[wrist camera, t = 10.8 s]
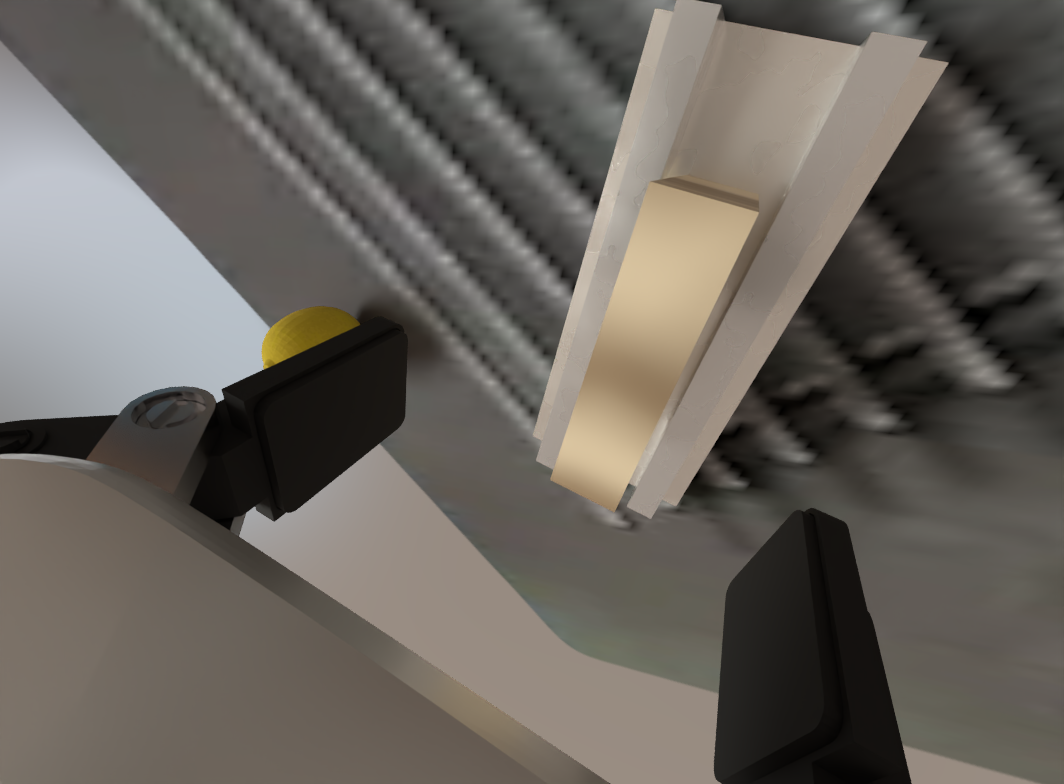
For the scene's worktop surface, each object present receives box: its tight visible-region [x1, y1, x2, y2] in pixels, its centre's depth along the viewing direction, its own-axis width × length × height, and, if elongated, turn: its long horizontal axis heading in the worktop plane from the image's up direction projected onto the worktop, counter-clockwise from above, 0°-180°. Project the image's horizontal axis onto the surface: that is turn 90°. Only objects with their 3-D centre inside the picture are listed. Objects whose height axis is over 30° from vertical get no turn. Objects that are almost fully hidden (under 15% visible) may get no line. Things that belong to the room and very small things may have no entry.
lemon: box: [262, 306, 360, 369], centre depth 30 cm, size 6×6×8 cm
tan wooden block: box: [550, 175, 759, 512], centre depth 18 cm, size 12×3×8 cm, turn 166°
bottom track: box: [533, 0, 948, 519], centre depth 21 cm, size 22×10×3 cm, turn 166°
